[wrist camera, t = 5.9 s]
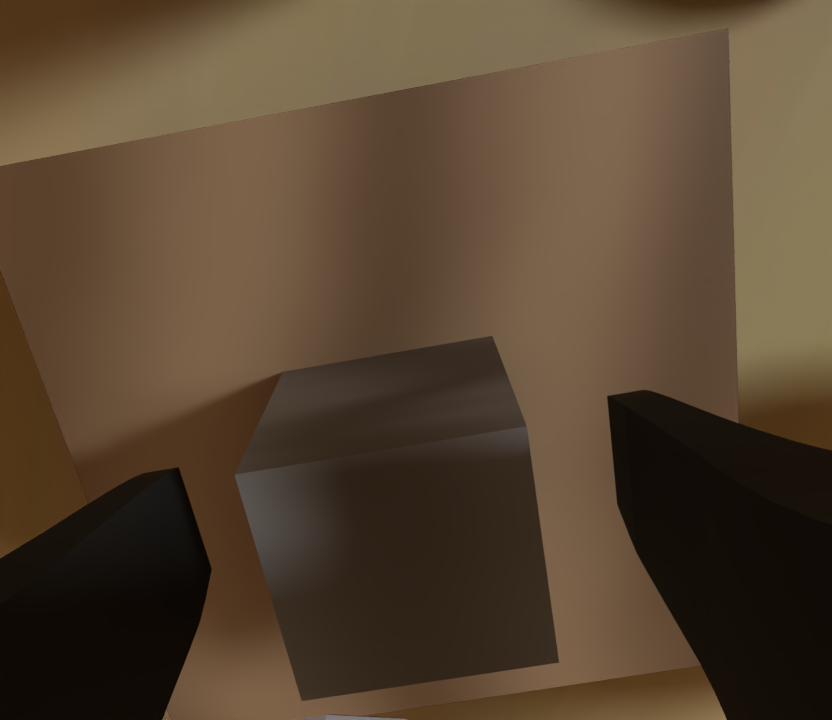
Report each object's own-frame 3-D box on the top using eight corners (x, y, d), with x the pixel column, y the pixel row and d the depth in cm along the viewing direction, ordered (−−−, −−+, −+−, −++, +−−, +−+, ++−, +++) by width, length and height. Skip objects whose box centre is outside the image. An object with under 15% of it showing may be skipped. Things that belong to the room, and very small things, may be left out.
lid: (704, 34, 12) (885, -12, 8) (725, 628, 17) (851, 831, 12) (-5, 168, 13) (-237, 201, 8) (192, 709, 17) (111, 932, 13)
